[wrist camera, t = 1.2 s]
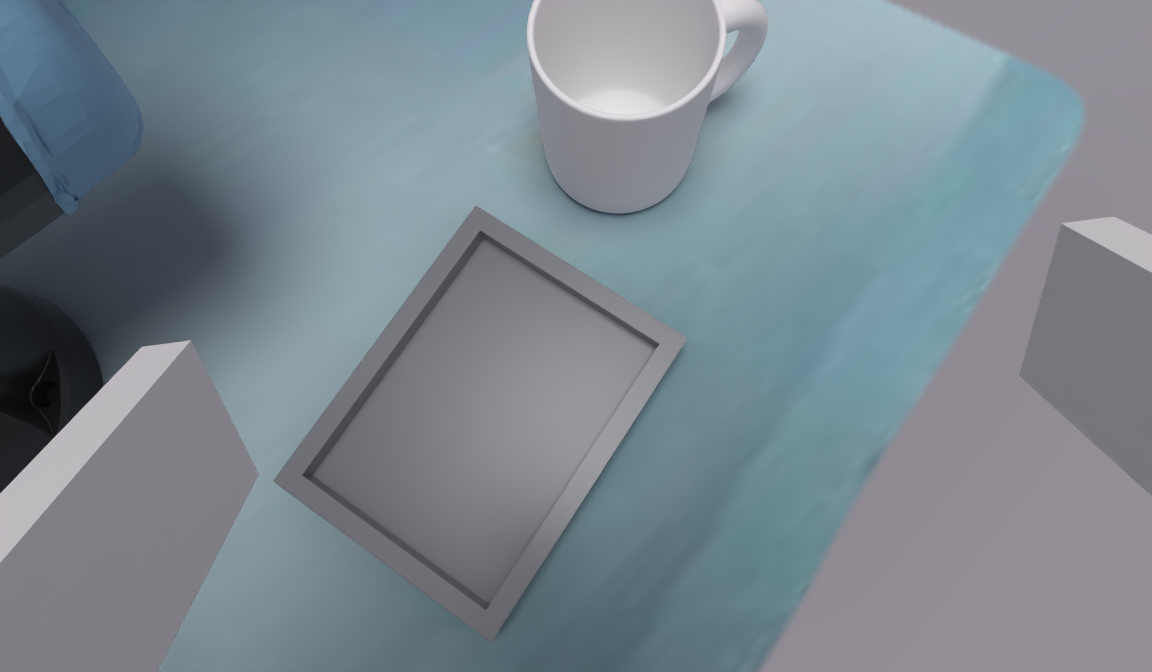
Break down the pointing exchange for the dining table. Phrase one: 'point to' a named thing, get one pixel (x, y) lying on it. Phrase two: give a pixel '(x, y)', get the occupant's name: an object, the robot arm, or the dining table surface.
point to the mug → (632, 89)
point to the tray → (481, 419)
